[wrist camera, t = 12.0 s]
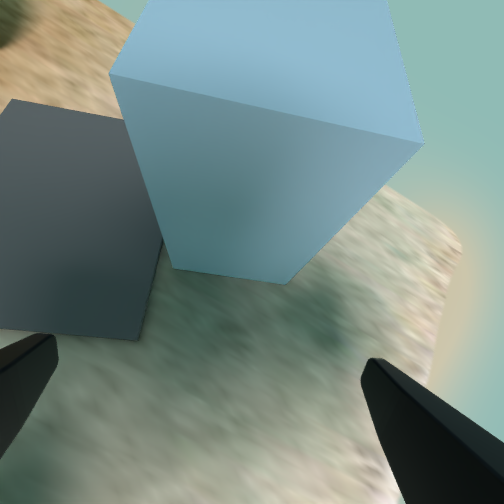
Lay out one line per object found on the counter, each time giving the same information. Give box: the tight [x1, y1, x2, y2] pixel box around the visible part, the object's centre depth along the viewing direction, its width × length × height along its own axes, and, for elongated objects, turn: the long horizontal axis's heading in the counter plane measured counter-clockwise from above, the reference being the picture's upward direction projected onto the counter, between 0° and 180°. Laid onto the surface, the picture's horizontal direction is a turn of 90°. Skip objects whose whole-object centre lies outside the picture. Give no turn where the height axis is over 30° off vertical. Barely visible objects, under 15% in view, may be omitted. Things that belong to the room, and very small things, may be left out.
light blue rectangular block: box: [109, 0, 424, 285], centre depth 13 cm, size 10×7×12 cm
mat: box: [0, 99, 163, 341], centre depth 17 cm, size 16×13×1 cm
